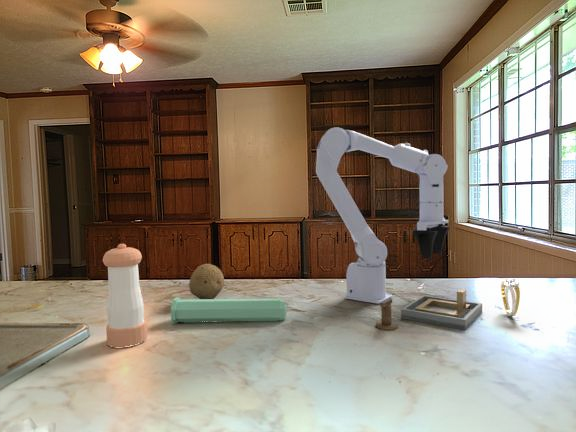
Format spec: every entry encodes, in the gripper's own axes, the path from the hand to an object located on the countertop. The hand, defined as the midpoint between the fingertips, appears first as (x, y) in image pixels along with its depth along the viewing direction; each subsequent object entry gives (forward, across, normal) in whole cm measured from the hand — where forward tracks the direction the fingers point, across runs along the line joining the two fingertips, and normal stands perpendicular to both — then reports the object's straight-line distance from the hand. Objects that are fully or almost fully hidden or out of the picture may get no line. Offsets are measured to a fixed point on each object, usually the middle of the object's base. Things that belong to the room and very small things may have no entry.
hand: (431, 255), depth 104 cm
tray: (+10, -14, -7) cm, 19 cm away
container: (+11, -42, +30) cm, 53 cm away
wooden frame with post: (+10, -14, -7) cm, 18 cm away
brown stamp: (+10, -27, 0) cm, 29 cm away
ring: (+11, -7, -19) cm, 23 cm away
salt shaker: (+11, -62, +38) cm, 73 cm away
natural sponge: (+11, -35, +46) cm, 59 cm away
